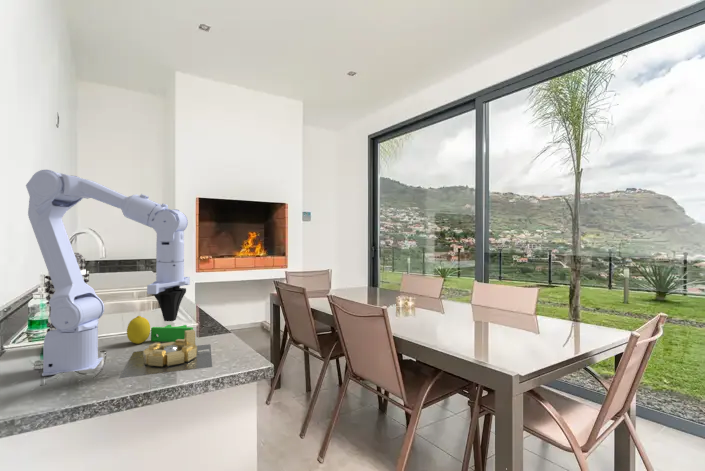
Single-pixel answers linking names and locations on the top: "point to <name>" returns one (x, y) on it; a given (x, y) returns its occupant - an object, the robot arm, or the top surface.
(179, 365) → the dark grey square slab
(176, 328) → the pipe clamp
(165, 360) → the tan segmented ring
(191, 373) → the top surface
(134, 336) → the lemon
